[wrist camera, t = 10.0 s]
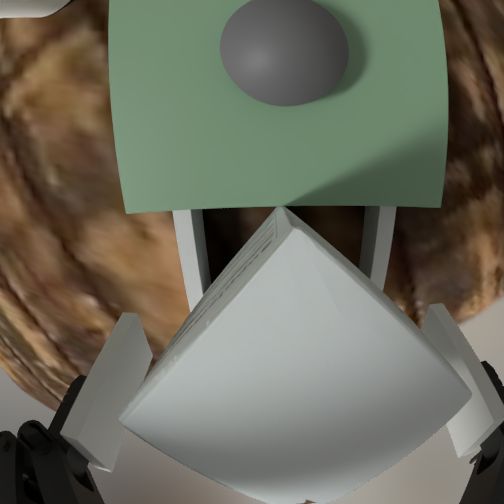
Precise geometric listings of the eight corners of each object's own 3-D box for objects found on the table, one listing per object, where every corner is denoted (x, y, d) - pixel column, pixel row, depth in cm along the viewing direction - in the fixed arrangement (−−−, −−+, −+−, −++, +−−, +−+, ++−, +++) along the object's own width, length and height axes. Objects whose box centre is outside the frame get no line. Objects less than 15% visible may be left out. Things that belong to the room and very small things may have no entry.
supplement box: (367, 277, 18) (482, 398, 6) (288, 356, 19) (298, 522, 7) (280, 198, 17) (302, 213, 5) (203, 288, 19) (108, 426, 6)
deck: (140, 10, 12) (98, -15, 8) (405, 7, 11) (446, -18, 6) (181, 330, 22) (163, 380, 18) (384, 325, 21) (404, 373, 17)
